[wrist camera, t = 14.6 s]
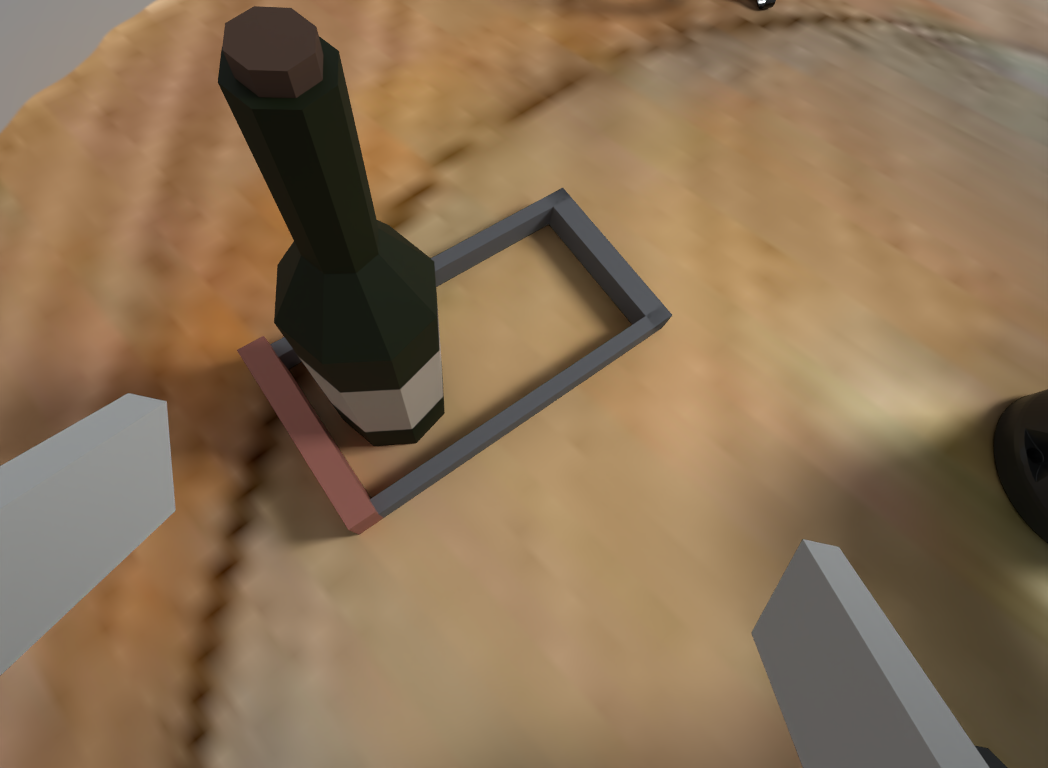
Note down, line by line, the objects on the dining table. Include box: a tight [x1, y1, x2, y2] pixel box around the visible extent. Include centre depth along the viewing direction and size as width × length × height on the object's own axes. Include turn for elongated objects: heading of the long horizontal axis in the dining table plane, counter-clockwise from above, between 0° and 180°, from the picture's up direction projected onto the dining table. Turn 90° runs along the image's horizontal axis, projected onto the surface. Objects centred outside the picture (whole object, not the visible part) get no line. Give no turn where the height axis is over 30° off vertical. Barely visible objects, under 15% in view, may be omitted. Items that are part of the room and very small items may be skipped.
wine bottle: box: [218, 6, 444, 446], centre depth 28 cm, size 8×8×30 cm
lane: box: [237, 188, 672, 534], centre depth 42 cm, size 30×15×4 cm, turn 126°
